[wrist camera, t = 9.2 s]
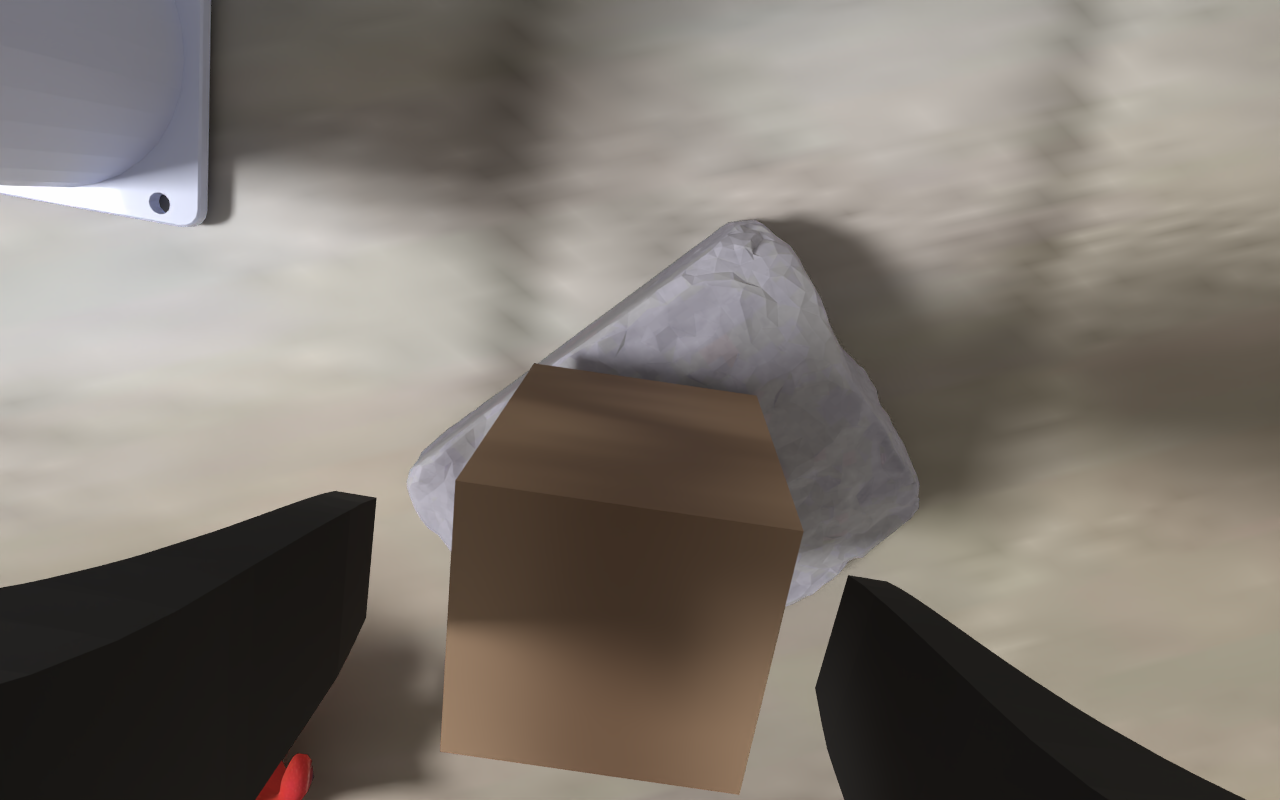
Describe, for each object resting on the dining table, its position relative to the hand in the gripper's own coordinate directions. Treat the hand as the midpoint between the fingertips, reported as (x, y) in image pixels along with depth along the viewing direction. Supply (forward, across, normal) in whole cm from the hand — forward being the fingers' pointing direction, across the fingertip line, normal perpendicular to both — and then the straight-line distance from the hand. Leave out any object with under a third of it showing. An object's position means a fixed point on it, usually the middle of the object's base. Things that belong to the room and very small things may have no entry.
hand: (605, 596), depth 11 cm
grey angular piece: (+10, -2, +1) cm, 11 cm away
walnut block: (+6, 0, 0) cm, 6 cm away
